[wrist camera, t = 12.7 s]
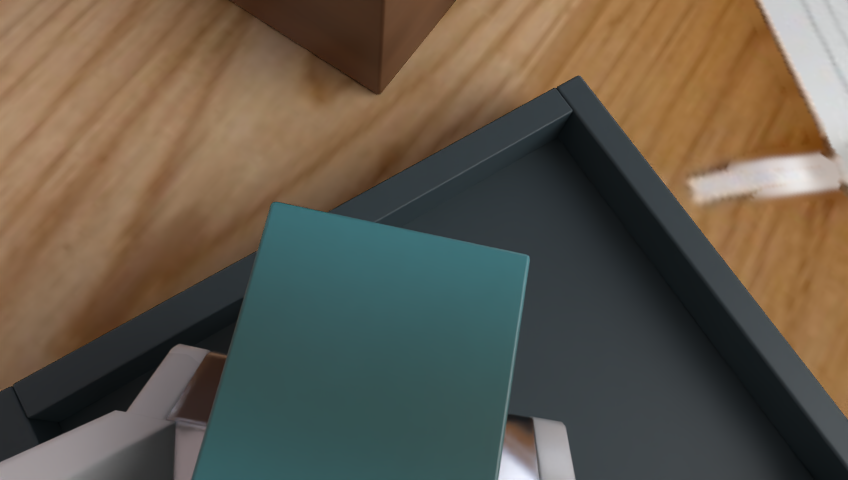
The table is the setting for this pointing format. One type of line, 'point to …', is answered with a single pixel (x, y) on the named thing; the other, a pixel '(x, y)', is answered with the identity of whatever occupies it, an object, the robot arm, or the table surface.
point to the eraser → (366, 356)
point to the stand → (354, 31)
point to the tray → (542, 312)
